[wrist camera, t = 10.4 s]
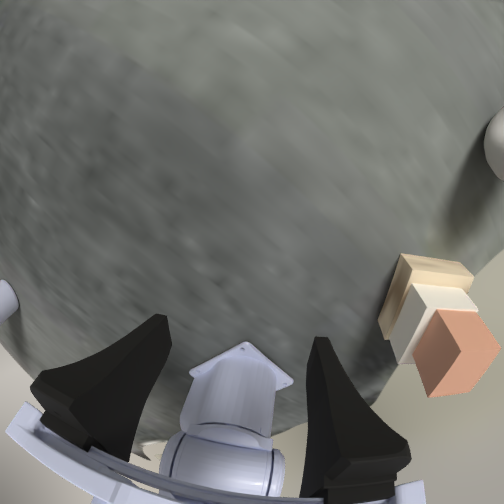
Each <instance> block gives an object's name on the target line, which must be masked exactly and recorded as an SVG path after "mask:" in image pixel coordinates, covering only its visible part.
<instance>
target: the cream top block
mask: <svg viewBox="0 0 504 504" xmlns="http://www.w3.org/2000/svg"><path fill="white" fill-rule="evenodd" d="M436 309H443V310H457V311H473V312H476V313H477V312H478V310H479V309H478V308H477V307H476V305H475V304H474V303H473V302H472V301H471V299H470V298H469V297H468V295H467V294H466V293H465V292H464V290H463V289H462V288H453V287H443V286H434V285H424V284H415V283H412V284H411V287H410V289H409V292H408V294H407V297H406V300H405V302H404V304H403V307H402V309H401V312H400V314H399V316H398V319H397V321H396V323H395V326H394V328H393V330H392V332H391V334H390V336H389V340H390V343H391V346H392V349H393V351H394V354H395V357H396V360H397V363H398V364H416V363H415V361H414V358H413V356H412V354H413V352H414V350H415V349H416V347H417V345H418V343H419V342H420V340H421V338H422V336H423V334H424V332H425V331H426V329H427V327H428V325H429V323H430V321H431V319H432V317H433V315H434V313H435V311H436Z"/></svg>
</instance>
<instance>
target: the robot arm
mask: <svg viewBox="0 0 504 504" xmlns="http://www.w3.org/2000/svg"><path fill="white" fill-rule="evenodd" d="M171 346H172V342H171V337H170V331H169V326H168V320H167V316H165V315H160V314H155V315H153V316H152V317H151V318H149V319H148V320H147V321H145V322H144V323H143V324H141V325H140V326H139V327H137V328H136V329H134V330H133V331H132V332H130V333H129V334H128V335H126V336H125V337H123V338H122V339H120V340H119V341H117V342H115V343H114V344H112V345H111V346H109V347H107V348H106V349H104V350H102V351H100V352H98V353H96V354H94V355H92V356H90V357H87V358H85V359H83V360H80V361H78V362H75V363H72V364H69V365H66V366H62V367H59V368H54V369H49V370H44V371H42V372H41V373H40V374H39V375H38V377H37V378H36V379H35V381H34V382H33V383H32V385H31V386H30V390H31V392H32V394H33V395H34V397H35V398H36V399H37V400H38V402H39V403H40V404H41V406H42V407H43V408H44V409H45V410H46V411H45V412H44V414H42V413H41V412H40V411H39V410H38V409H36V408H35V407H34V406H32V405H31V404H29V403H28V402H26V401H25V403H24V404H23V405H22V407H21V408H20V410H19V411H18V413H17V414H16V416H15V417H14V419H13V420H12V422H11V423H10V425H9V426H8V428H7V429H6V433H7V434H8V435H9V436H10V437H11V438H12V439H13V440H14V441H15V442H17V443H18V444H19V445H20V446H21V447H23V448H24V449H25V450H26V451H27V452H28V453H30V454H31V455H32V456H34V457H35V458H36V459H37V460H39V461H40V462H41V463H43V464H44V465H45V466H47V467H48V468H50V469H51V470H52V471H54V472H55V473H57V474H58V475H60V476H61V477H63V478H64V479H66V480H67V481H69V482H71V483H72V484H74V485H75V486H77V487H79V488H81V489H82V490H84V491H86V492H87V493H89V494H91V495H93V496H94V497H93V500H92V502H91V504H426V498H425V490H424V483H423V480H417V481H414V482H409V483H405V484H401V485H398V486H394V481H396V480H397V474H396V473H397V472H399V471H400V470H401V469H403V468H404V467H406V466H407V465H408V464H409V463H410V461H411V453H410V449H409V445H408V442H407V440H406V439H404V438H403V437H402V436H400V435H399V434H398V433H396V432H395V431H394V430H392V429H391V428H390V427H389V426H388V425H387V424H386V423H385V422H383V421H382V419H381V418H380V417H379V416H378V415H377V414H376V413H375V412H374V411H373V410H372V409H371V408H370V407H369V405H368V404H367V403H366V402H365V401H364V399H363V398H362V397H361V395H360V394H359V393H358V391H357V390H356V388H355V387H354V385H353V384H352V382H351V381H350V379H349V377H348V376H347V374H346V372H345V371H344V369H343V367H342V365H341V363H340V361H339V359H338V357H337V355H336V353H335V351H334V349H333V347H332V345H331V342H330V340H329V338H328V337H315V338H314V342H313V346H312V349H311V353H310V356H309V360H308V363H307V374H306V392H307V410H308V436H307V447H306V457H305V465H304V472H303V479H302V485H301V491H300V496H299V498H287V497H280V494H281V490H282V486H283V481H284V474H285V458H284V456H283V455H282V453H281V452H280V450H278V449H272V445H273V439H270V435H271V427H272V419H273V410H274V401H275V392H276V391H277V390H280V389H282V388H284V387H287V386H289V385H291V384H293V379H292V378H291V377H289V376H288V375H287V374H286V373H285V372H283V371H282V370H281V369H280V368H279V367H277V366H276V365H275V364H274V363H273V362H271V361H270V360H269V359H268V358H267V357H266V356H264V355H263V354H262V353H261V352H260V351H259V350H258V349H256V348H255V347H254V346H253V345H252V344H251V343H249V342H242V343H241V344H239V345H237V346H235V347H233V348H231V349H230V350H228V351H226V352H224V353H222V354H220V355H218V356H216V357H214V358H212V359H210V360H208V361H206V362H205V363H203V364H201V365H199V366H197V367H195V368H192V369H191V370H190V371H189V374H190V375H191V376H193V377H194V380H193V383H192V385H191V388H190V390H189V393H188V396H187V398H186V401H185V403H184V406H183V409H182V411H181V414H180V426H181V430H182V431H179V432H177V433H176V434H174V435H173V436H171V438H170V439H169V440H168V442H167V444H166V446H165V449H164V451H163V454H162V458H161V462H160V468H159V474H158V473H155V472H152V471H149V470H146V469H143V468H141V467H138V466H135V465H133V464H130V463H128V462H129V458H130V453H131V449H132V444H133V440H134V437H135V433H136V429H137V426H138V423H139V420H140V417H141V414H142V411H143V408H144V405H145V403H146V400H147V398H148V395H149V393H150V391H151V389H152V388H153V386H154V384H155V382H156V380H157V378H158V376H159V374H160V372H161V370H162V368H163V367H164V365H165V363H166V360H167V358H168V355H169V352H170V349H171ZM243 348H244V349H243ZM117 473H118V474H117ZM119 474H120V475H119ZM121 475H123V476H125V477H127V478H130V479H132V480H135V481H137V482H140V483H143V484H145V485H148V486H151V487H154V488H157V489H159V494H157V493H154V492H151V491H148V490H144V489H142V488H139V487H138V486H136V485H135V484H133V483H132V481H131V480H129V479H127V478H125V477H123V476H121Z"/></svg>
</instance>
